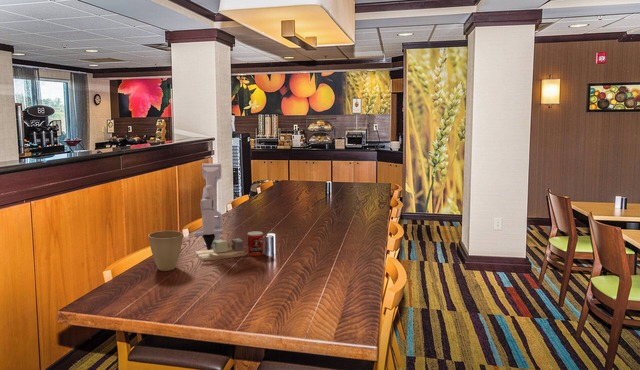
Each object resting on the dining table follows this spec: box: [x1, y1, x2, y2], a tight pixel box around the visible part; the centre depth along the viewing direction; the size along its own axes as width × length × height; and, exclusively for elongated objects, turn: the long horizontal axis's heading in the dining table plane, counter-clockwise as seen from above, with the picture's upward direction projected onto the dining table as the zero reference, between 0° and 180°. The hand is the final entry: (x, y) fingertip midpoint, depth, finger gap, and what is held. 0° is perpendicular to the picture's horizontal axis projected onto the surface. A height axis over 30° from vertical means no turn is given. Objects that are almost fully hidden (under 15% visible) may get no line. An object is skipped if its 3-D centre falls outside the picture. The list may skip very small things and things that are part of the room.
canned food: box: [246, 230, 264, 257], centre depth 248 cm, size 8×8×11 cm
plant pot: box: [147, 230, 184, 272], centre depth 224 cm, size 15×15×16 cm
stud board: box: [194, 238, 247, 262], centre depth 247 cm, size 14×22×6 cm, turn 118°
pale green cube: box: [212, 238, 229, 253], centre depth 247 cm, size 5×6×5 cm
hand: (208, 249), depth 245 cm, fingers closed
